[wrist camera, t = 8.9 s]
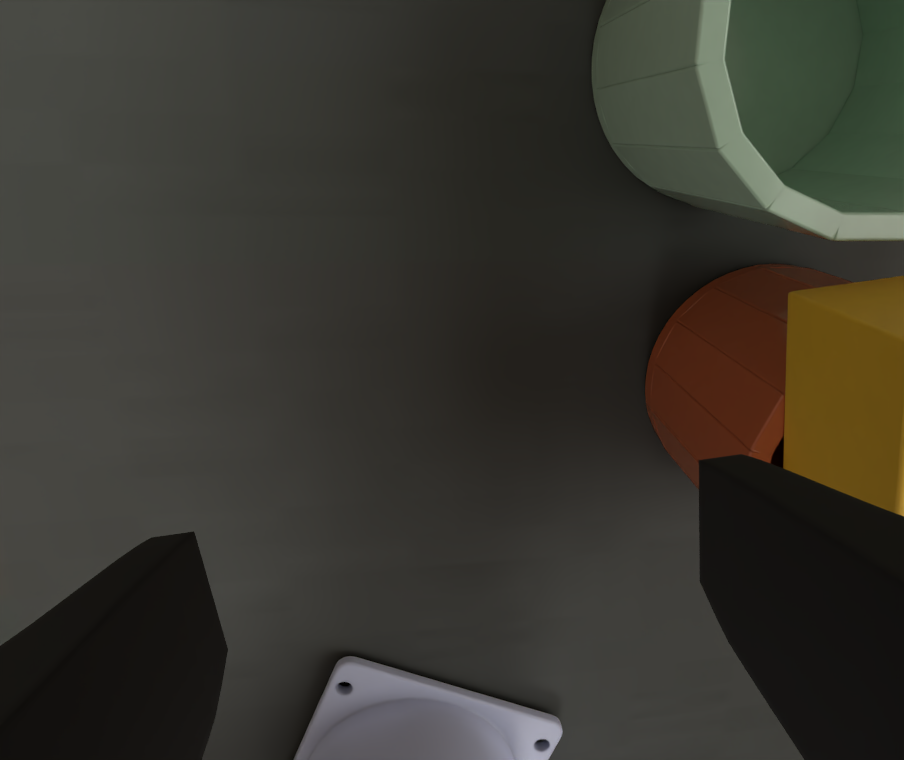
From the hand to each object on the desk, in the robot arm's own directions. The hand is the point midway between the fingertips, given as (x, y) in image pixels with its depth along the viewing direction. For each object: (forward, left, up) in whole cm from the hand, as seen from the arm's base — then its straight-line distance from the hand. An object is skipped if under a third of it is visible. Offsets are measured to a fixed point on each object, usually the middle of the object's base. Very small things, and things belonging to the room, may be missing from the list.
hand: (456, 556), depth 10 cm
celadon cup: (+10, -4, -10) cm, 15 cm away
